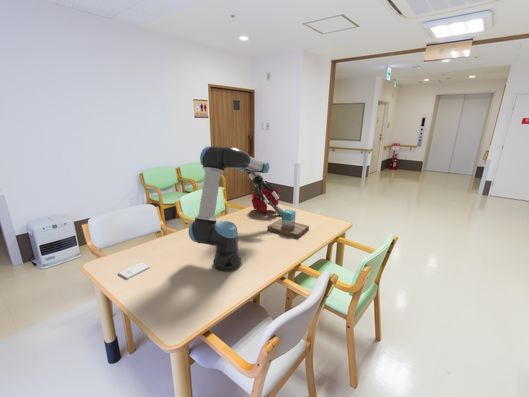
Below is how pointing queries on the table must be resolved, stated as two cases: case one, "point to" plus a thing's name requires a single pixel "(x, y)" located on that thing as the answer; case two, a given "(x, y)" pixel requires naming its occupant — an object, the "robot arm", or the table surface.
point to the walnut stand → (288, 229)
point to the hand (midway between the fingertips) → (272, 201)
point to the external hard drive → (134, 270)
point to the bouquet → (261, 205)
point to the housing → (288, 218)
